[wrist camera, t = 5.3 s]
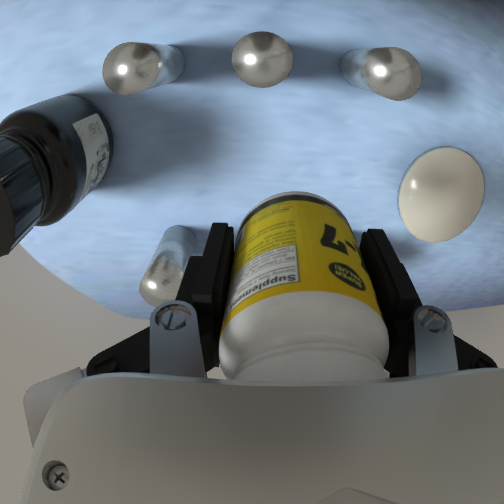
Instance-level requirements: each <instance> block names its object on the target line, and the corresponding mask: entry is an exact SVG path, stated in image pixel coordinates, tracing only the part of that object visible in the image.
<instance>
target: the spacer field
mask: <svg viewBox="0 0 504 504" xmlns="http://www.w3.org/2000/svg"><path fill="white" fill-rule="evenodd" d="M184 65H185V62H184V57H183V55H182V53H181V52H180V51H179V50H178V49H177V48H175V47H173V46H169V45H159V44H149V43H135V42H127V43H123V44H120V45H118V46H116V47H115V48H114V49H112V50H111V51H110V53H109V54H108V55H107V57H106V59H105V61H104V64H103V70H102V73H103V79H104V81H105V83H106V85H107V86H108V88H109V89H110V90H112V91H113V92H115V93H117V94H120V95H131V94H135V93H138V92H141V91H144V90H147V89H150V88H153V87H157V86H160V85H163V84H167V83H170V82H173V81H174V80H176V79H177V78H178V77H179V76H180V75H181V73H182V72H183V69H184ZM292 65H293V55H292V51H291V49H290V47H289V45H288V44H287V42H286V41H285V40H284V39H282V38H281V37H280V36H278V35H276V34H273V33H270V32H263V31H262V32H254V33H251V34H248V35H246V36H245V37H243V38H242V39H241V40H240V41H239V42H238V43H237V44H236V46H235V48H234V50H233V53H232V66H233V69H234V71H235V73H236V74H237V76H238V77H239V78H240V79H241V80H242V81H243V82H245V83H247V84H249V85H251V86H254V87H261V88H264V87H271V86H274V85H277V84H278V83H280V82H282V81H283V80H284V79H285V78H286V77H287V76H288V75H289V73H290V71H291V69H292ZM340 70H341V74H342V76H343V78H344V79H345V80H346V81H347V82H348V83H349V84H351V85H352V86H355V87H358V88H361V89H364V90H367V91H370V92H372V93H375V94H378V95H381V96H383V97H386V98H389V99H391V100H396V101H402V100H406V99H409V98H411V97H412V96H413V95H414V94H415V93H416V92H417V91H418V89H419V87H420V84H421V79H422V75H421V69H420V66H419V64H418V62H417V60H416V59H415V58H414V57H413V56H412V55H411V54H410V53H409V52H407V51H406V50H404V49H401V48H397V47H384V48H365V49H354V50H351V51H349V52H347V53H346V54H345V55H344V56H343V58H342V60H341V63H340ZM356 243H357V242H356ZM357 245H358V244H357ZM195 246H196V238H195V236H194V234H193V233H192V232H191V231H190V230H189V229H187V228H186V227H183V226H172V227H170V228H168V229H167V230H166V231H165V233H164V235H163V237H162V239H161V241H160V243H159V245H158V247H157V249H156V251H155V253H154V255H153V257H152V259H151V261H150V264H149V266H148V268H147V270H146V272H145V274H144V276H143V279H142V281H141V283H140V286H139V291H140V294H141V296H142V298H143V299H144V300H145V301H146V302H147V303H149V304H150V305H152V306H155V307H158V306H159V305H160V304H163V303H165V302H168V301H175V299H176V296H177V293H178V290H179V287H180V284H181V281H182V278H183V275H184V272H185V269H186V266H187V263H188V260H189V258H190V256H192V255H193V252H194V249H195ZM358 248H359V247H358Z"/></svg>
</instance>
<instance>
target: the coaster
mask: <svg viewBox="0 0 504 504" xmlns="http://www.w3.org/2000/svg"><path fill="white" fill-rule="evenodd" d="M483 197H484V179H483V175H482V172H481V169H480V167H479V165H478V164H477V163H476V161H475V160H474V159H473V158H472V157H471V156H470V155H468V154H467V153H465V152H464V151H462V150H460V149H458V148H455V147H449V146H441V147H436V148H433V149H430V150H428V151H426V152H424V153H423V154H421V155H420V156H419V157H418V158H416V159H415V160H414V161H413V162H412V164H411V165H410V166H409V167H408V169H407V170H406V172H405V174H404V176H403V178H402V180H401V183H400V186H399V190H398V197H397V204H398V211H399V215H400V217H401V220H402V221H403V223H404V225H405V226H406V228H407V229H408V230H409V231H410V233H411V234H412V235H414V236H415V237H416V238H418V239H420V240H422V241H425V242H431V243H438V242H444V241H447V240H450V239H452V238H454V237H456V236H458V235H459V234H461V233H462V232H463V231H464V230H466V229H467V228H468V227H469V225H470V224H471V223H472V222H473V220H474V219H475V217H476V216H477V214H478V212H479V210H480V207H481V205H482V201H483Z"/></svg>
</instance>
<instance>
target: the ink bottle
mask: <svg viewBox="0 0 504 504" xmlns="http://www.w3.org/2000/svg"><path fill="white" fill-rule="evenodd" d="M112 152H113V139H112V133H111V129H110V127H109V124H108V122H107V120H106V119H105V117H104V115H103V114H102V113H101V112H100V110H99V109H98V108H97V107H96V106H94V105H93V104H92V103H90V102H89V101H87V100H85V99H83V98H81V97H78V96H73V95H62V96H58V97H54V98H51V99H48V100H45V101H42V102H39V103H37V104H34V105H31V106H28V107H25V108H23V109H20V110H18V111H15V112H13V113H12V114H10V115H9V116H7V117H6V118H5V119H4V120H3V121H2V122H1V123H0V257H1V256H4V255H7V254H9V253H10V251H11V250H12V249H13V248H14V247H15V246H16V245H17V244H18V243H19V242H20V241H21V240H22V239H23V238H24V237H25V236H26V235H27V234H28V233H29V232H30V231H31V230H32V229H33V227H34V226H48V225H51V224H54V223H56V222H58V221H59V220H61V219H62V218H63V217H65V216H66V215H67V214H68V213H69V212H70V211H71V210H72V209H73V208H74V207H75V206H76V205H77V204H78V203H79V202H80V201H81V200H82V199H83V198H84V197H85V196H86V195H87V194H89V193H90V192H91V191H92V190H93V189H94V188H95V187H96V186H97V185H98V184H99V183H100V181H101V180H102V179H103V177H104V176H105V174H106V172H107V170H108V168H109V166H110V162H111V158H112Z"/></svg>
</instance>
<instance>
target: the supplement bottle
mask: <svg viewBox="0 0 504 504" xmlns="http://www.w3.org/2000/svg"><path fill="white" fill-rule="evenodd" d="M388 352H389V337H388V331H387V327H386V324H385V322H384V318H383V315H382V312H381V310H380V307H379V303H378V300H377V298H376V294H375V292H374V289H373V286H372V283H371V280H370V278H369V275H368V272H367V269H366V267H365V264H364V261H363V258H362V256H361V253H360V250H359V248H358V245H357V243H356V240H355V237H354V235H353V232H352V230H351V227H350V225H349V223H348V221H347V219H346V218H345V216H344V215H343V214H342V212H341V211H340V210H339V209H338V208H337V207H336V206H335V205H334V204H332V203H331V202H329V201H328V200H326V199H325V198H323V197H321V196H318V195H316V194H312V193H308V192H297V191H294V192H284V193H280V194H276V195H273V196H271V197H269V198H267V199H265V200H263V201H261V202H260V203H259V204H257V205H256V206H255V207H254V208H253V209H252V210H251V211H250V212H249V213H248V214H247V215H246V217H245V218H244V220H243V221H242V223H241V225H240V228H239V231H238V235H237V240H236V245H235V251H234V257H233V263H232V268H231V274H230V280H229V286H228V292H227V298H226V305H225V310H224V317H223V323H222V328H221V334H220V340H219V360H220V365H221V368H222V370H223V373H224V375H225V376H226V378H227V380H245V381H276V382H322V381H352V380H370V379H385V378H388V376H387V374H386V372H385V370H384V365H385V363H386V360H387V357H388Z"/></svg>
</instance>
